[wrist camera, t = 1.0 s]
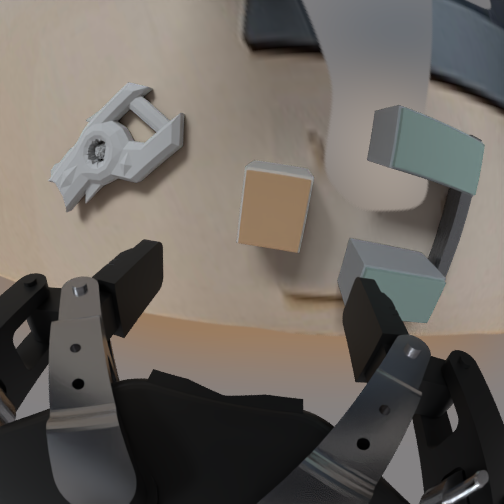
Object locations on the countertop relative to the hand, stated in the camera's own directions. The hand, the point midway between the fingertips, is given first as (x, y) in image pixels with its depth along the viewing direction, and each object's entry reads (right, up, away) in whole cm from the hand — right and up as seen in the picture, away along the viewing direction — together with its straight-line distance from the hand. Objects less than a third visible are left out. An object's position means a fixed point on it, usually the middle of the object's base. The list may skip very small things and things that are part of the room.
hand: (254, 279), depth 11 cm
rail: (+21, +4, +13) cm, 25 cm away
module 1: (+2, +7, +15) cm, 16 cm away
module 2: (+15, +11, +11) cm, 22 cm away
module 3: (+14, 0, +16) cm, 21 cm away
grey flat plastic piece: (-15, +12, +15) cm, 25 cm away
